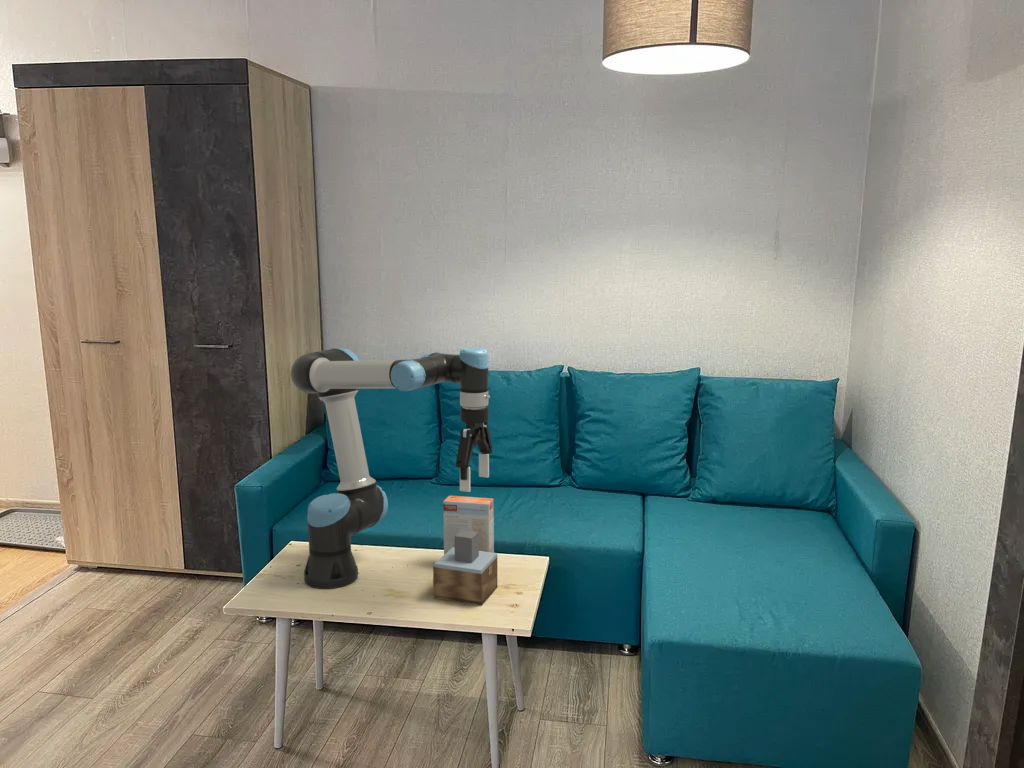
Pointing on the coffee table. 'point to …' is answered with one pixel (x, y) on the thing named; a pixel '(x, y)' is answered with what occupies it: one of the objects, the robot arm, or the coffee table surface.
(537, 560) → the coffee table surface
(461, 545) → the block
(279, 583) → the coffee table surface
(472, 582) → the keepsake box
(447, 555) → the lid
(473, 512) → the cracker box
